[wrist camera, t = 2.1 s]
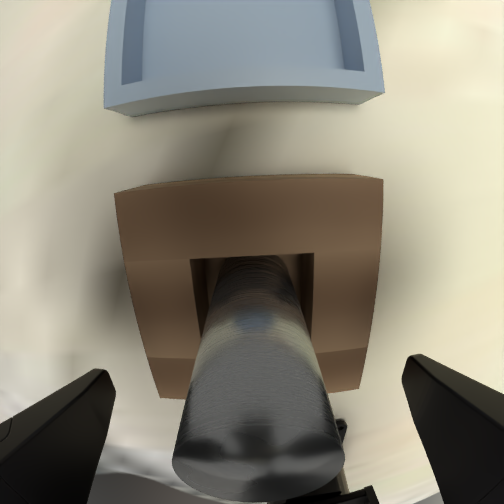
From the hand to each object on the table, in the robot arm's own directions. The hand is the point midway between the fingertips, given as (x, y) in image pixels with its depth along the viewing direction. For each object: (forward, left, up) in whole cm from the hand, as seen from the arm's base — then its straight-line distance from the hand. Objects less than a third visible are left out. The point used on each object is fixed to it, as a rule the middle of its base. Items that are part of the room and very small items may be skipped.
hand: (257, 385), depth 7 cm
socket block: (0, 0, -8) cm, 8 cm away
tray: (+15, 0, -8) cm, 17 cm away
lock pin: (0, 0, -7) cm, 7 cm away
